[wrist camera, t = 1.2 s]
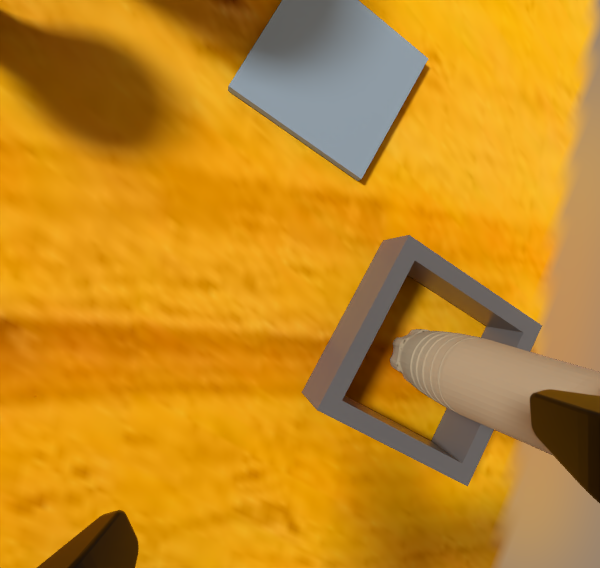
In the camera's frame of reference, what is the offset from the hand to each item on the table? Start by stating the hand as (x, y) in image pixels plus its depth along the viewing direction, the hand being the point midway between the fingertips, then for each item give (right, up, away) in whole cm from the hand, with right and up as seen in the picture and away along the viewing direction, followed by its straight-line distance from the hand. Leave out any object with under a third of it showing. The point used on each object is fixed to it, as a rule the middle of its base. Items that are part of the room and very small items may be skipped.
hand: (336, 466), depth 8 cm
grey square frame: (+6, -1, +16) cm, 17 cm away
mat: (+1, +16, +14) cm, 22 cm away
